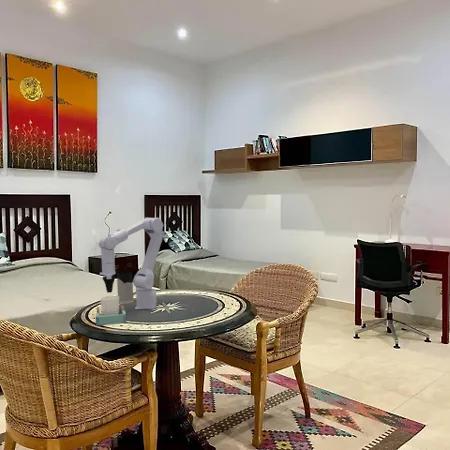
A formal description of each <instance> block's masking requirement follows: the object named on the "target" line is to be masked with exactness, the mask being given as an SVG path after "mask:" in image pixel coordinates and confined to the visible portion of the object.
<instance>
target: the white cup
mask: <svg viewBox="0 0 450 450" xmlns="http://www.w3.org/2000/svg"><path fill="white" fill-rule="evenodd" d="M100 306H101V309H100V310H101V316H108V315H118V314H119V313H120V303H119V296H118V295H105V296H102V297H100Z"/></svg>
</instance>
